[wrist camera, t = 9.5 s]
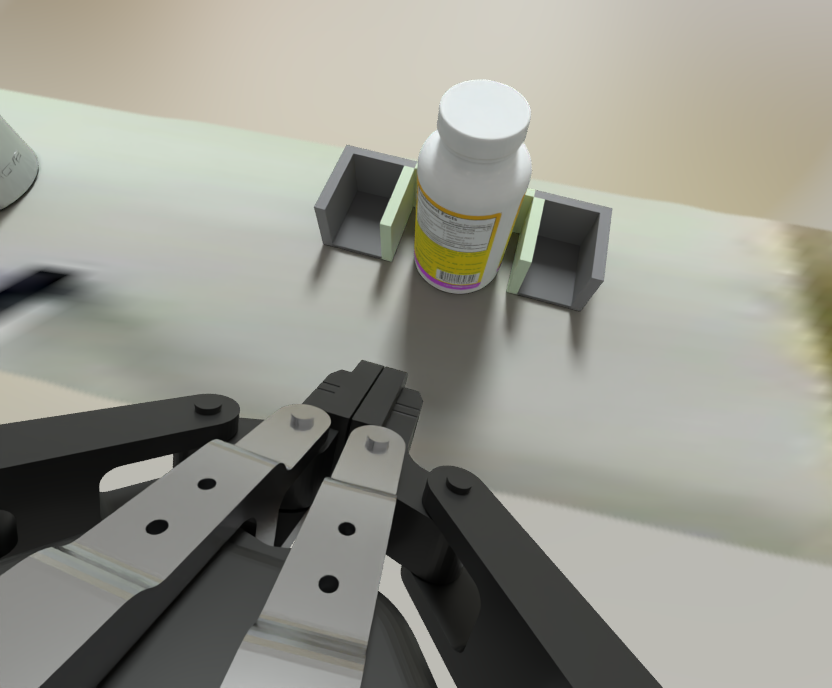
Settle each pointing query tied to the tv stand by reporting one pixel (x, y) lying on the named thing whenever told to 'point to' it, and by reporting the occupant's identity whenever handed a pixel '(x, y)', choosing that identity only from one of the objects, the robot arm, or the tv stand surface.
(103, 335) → the tv stand surface
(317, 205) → the bay rack
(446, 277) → the supplement bottle
